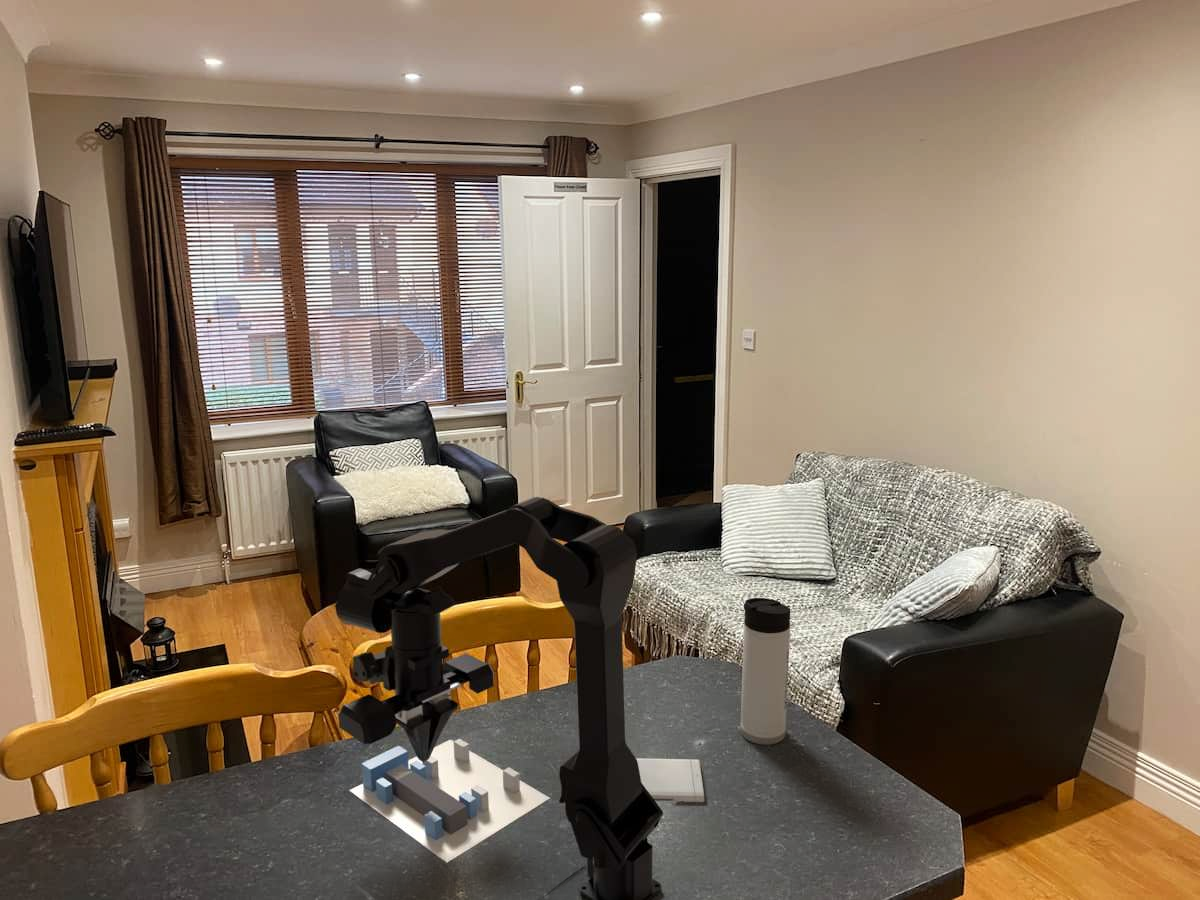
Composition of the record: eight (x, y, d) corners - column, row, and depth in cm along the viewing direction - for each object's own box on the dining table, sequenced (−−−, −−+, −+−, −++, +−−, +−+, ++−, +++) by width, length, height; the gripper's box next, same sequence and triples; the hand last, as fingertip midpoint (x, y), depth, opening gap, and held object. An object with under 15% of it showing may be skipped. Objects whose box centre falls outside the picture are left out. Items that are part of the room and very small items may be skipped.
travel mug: (729, 728, 126) (733, 597, 121) (767, 718, 128) (773, 589, 124) (754, 750, 120) (760, 614, 116) (794, 739, 123) (800, 605, 118)
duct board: (550, 800, 109) (549, 775, 109) (447, 865, 98) (445, 837, 97) (450, 742, 123) (449, 718, 122) (349, 793, 111) (347, 767, 110)
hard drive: (604, 793, 109) (704, 794, 109) (605, 756, 117) (699, 757, 117) (604, 805, 110) (704, 806, 109) (605, 767, 118) (699, 768, 117)
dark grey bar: (467, 824, 104) (466, 806, 104) (450, 834, 103) (449, 815, 102) (403, 781, 113) (402, 764, 112) (386, 790, 111) (385, 772, 111)
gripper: (439, 599, 115) (444, 707, 118) (308, 646, 101) (318, 766, 105) (494, 622, 107) (498, 737, 111) (361, 676, 94) (371, 805, 98)
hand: (423, 759), depth 106 cm, fingers closed
